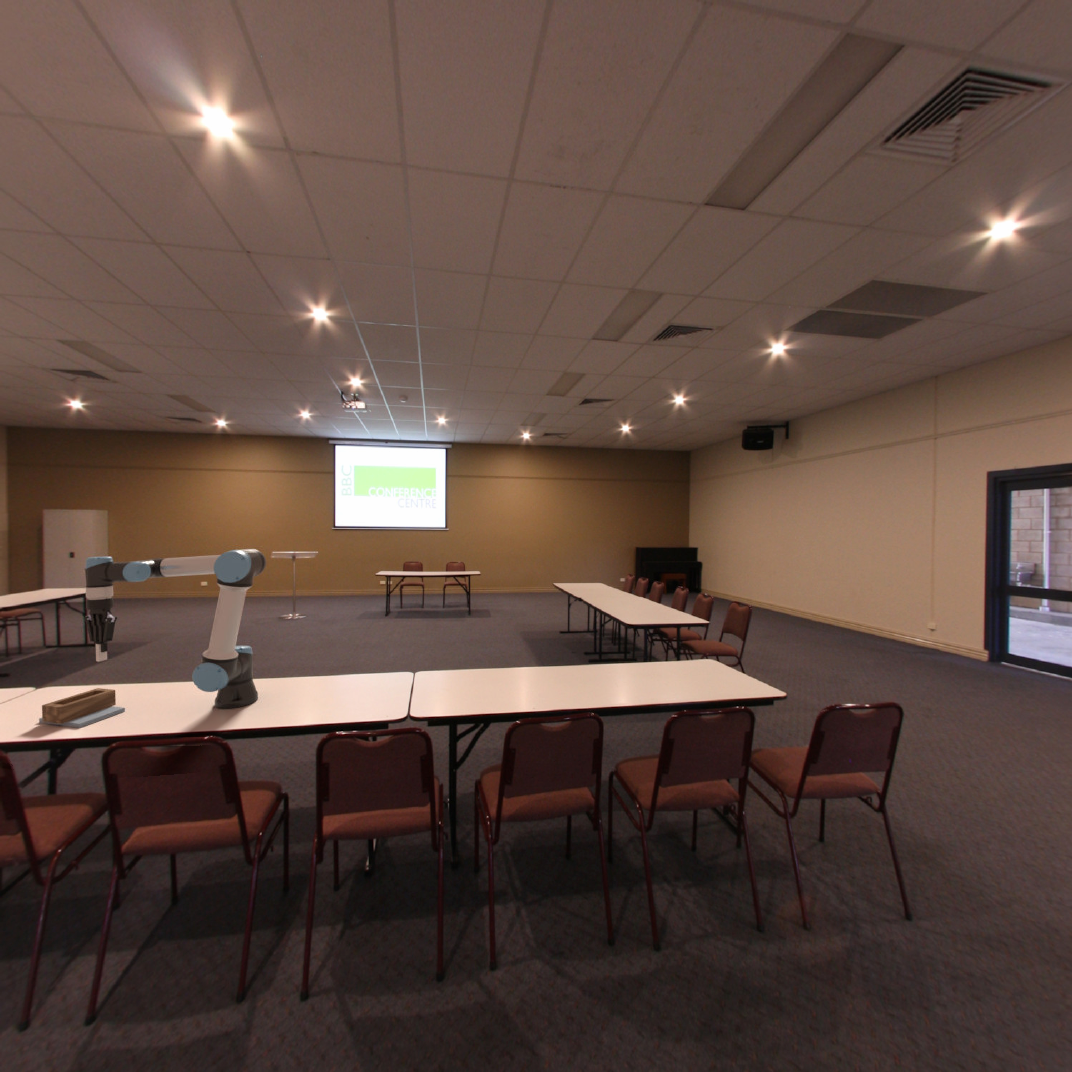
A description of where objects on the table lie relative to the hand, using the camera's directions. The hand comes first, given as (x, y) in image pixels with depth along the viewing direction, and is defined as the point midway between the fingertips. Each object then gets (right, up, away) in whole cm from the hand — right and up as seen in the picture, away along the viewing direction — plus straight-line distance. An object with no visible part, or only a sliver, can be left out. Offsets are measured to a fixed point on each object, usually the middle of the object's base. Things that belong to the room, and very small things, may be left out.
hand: (101, 660), depth 175 cm
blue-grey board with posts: (-10, -22, +3) cm, 25 cm away
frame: (-11, -21, +3) cm, 24 cm away
